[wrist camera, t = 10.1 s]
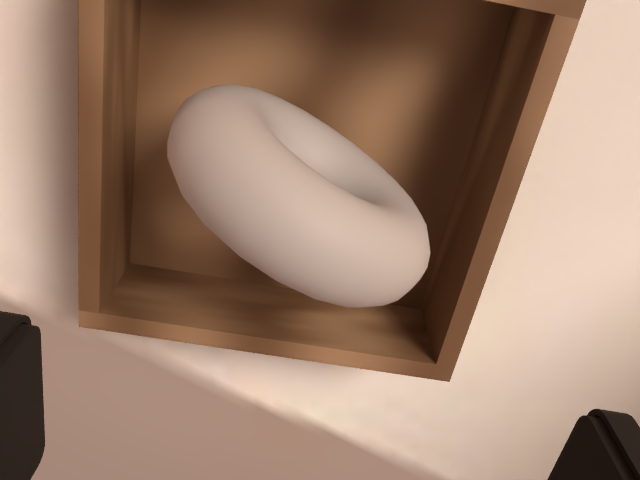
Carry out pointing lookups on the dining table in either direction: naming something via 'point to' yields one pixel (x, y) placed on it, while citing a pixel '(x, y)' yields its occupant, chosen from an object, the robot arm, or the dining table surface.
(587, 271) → the dining table surface
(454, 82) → the walnut box
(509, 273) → the dining table surface
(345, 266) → the donut
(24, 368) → the robot arm
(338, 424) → the dining table surface
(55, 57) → the dining table surface
